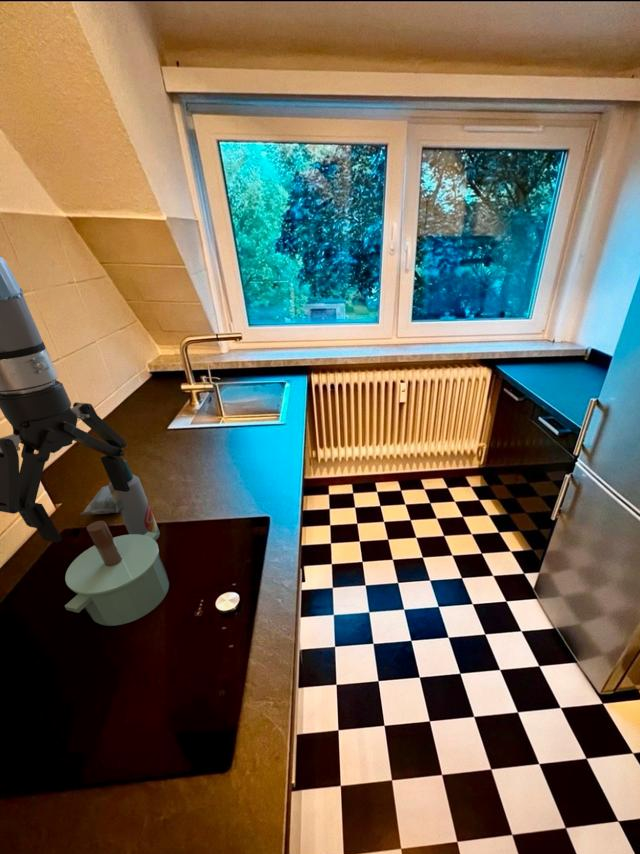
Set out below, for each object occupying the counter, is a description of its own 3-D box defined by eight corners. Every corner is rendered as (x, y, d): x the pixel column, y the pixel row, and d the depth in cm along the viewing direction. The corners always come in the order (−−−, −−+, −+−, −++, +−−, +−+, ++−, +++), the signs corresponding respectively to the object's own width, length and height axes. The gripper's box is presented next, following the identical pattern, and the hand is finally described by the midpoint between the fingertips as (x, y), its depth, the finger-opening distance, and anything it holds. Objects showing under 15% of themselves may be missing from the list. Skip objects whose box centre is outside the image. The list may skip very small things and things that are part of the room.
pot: (57, 629, 67) (34, 596, 63) (137, 555, 83) (123, 524, 78) (122, 646, 64) (103, 613, 60) (192, 566, 80) (181, 535, 75)
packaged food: (84, 522, 93) (76, 505, 90) (105, 494, 103) (99, 479, 100) (122, 519, 94) (115, 502, 91) (140, 492, 104) (134, 476, 101)
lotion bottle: (164, 528, 90) (135, 453, 79) (154, 545, 85) (122, 467, 75) (139, 529, 90) (108, 454, 79) (128, 546, 85) (92, 468, 74)
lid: (46, 588, 65) (20, 547, 60) (113, 533, 77) (96, 495, 72) (118, 605, 62) (96, 563, 57) (176, 545, 73) (162, 506, 69)
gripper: (-60, 426, 40) (36, 571, 52) (121, 361, 61) (161, 476, 72) (-109, 420, 42) (-6, 561, 54) (83, 359, 62) (128, 471, 74)
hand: (90, 512), depth 63 cm, fingers open, 13 cm apart
